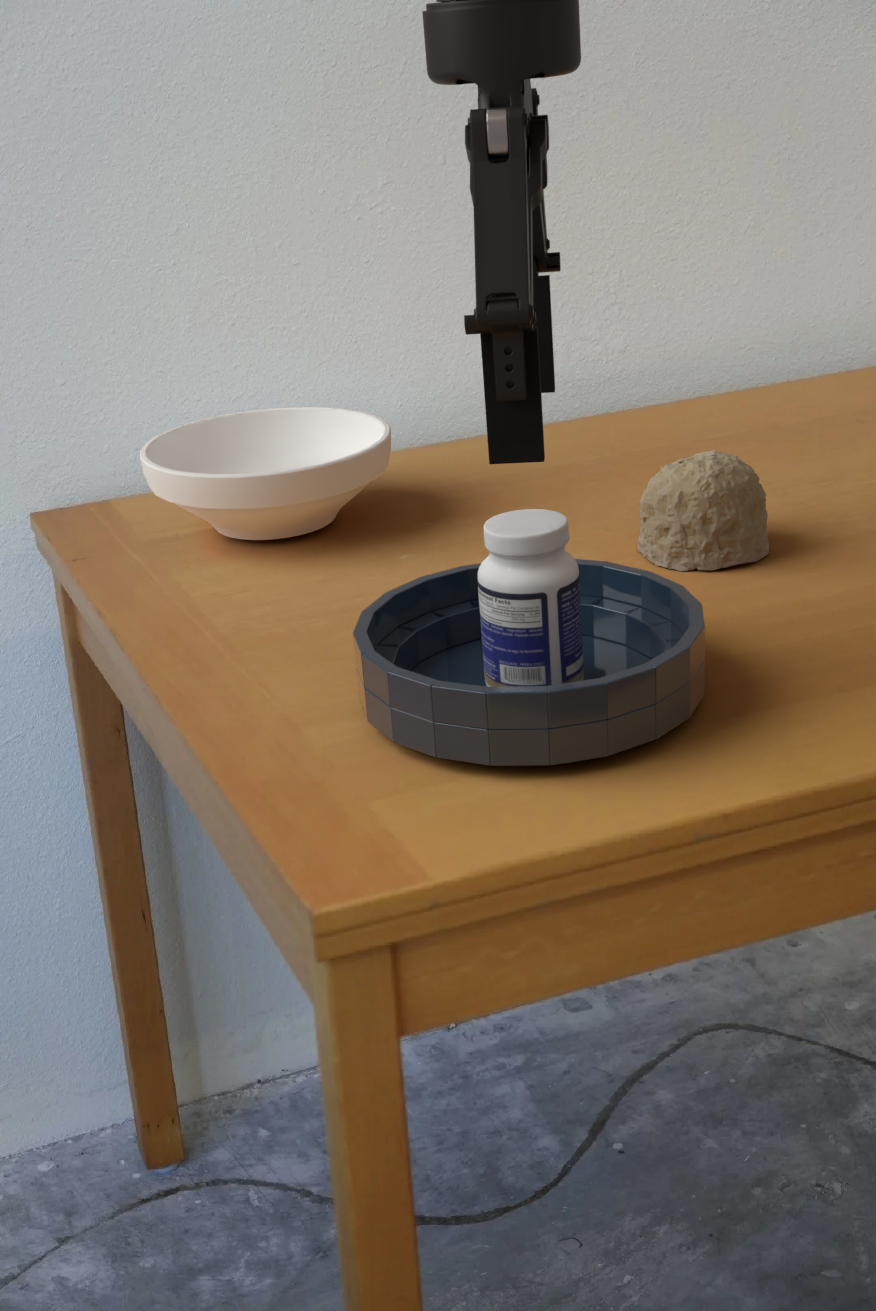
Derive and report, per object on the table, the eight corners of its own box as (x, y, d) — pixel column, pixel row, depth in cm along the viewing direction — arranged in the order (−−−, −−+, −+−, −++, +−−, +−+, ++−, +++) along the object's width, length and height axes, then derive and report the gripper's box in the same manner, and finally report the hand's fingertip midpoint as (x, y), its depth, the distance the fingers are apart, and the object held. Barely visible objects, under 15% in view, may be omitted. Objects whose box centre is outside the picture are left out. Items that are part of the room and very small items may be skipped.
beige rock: (638, 610, 107) (632, 529, 98) (639, 503, 112) (634, 417, 103) (769, 608, 105) (775, 525, 97) (765, 500, 110) (770, 412, 102)
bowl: (137, 510, 124) (124, 427, 121) (361, 475, 129) (354, 394, 126) (172, 586, 107) (158, 491, 104) (430, 541, 112) (423, 450, 109)
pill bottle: (549, 656, 89) (543, 498, 85) (603, 689, 84) (599, 523, 80) (466, 681, 86) (455, 518, 82) (516, 716, 82) (507, 546, 78)
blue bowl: (695, 628, 93) (695, 553, 91) (713, 778, 75) (713, 689, 73) (388, 634, 96) (381, 561, 94) (335, 780, 78) (326, 695, 76)
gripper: (448, -5, 82) (475, 372, 91) (384, 0, 60) (428, 500, 68) (583, -17, 81) (598, 365, 90) (570, -17, 59) (591, 493, 67)
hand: (524, 424), depth 79 cm, fingers open, 13 cm apart
